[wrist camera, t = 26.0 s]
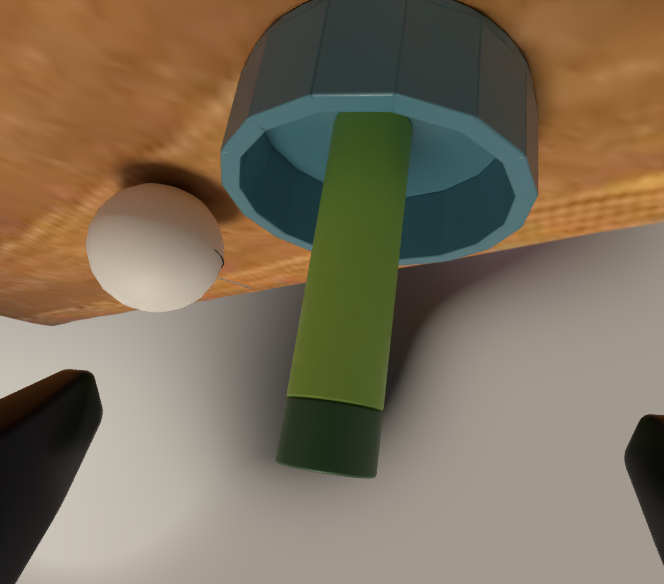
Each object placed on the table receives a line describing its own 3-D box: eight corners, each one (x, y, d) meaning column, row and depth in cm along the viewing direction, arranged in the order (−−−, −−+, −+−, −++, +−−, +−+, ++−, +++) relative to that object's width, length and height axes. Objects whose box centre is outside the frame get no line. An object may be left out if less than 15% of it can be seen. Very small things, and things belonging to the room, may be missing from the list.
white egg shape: (84, 174, 26) (40, 291, 23) (158, 140, 21) (113, 280, 19) (214, 245, 33) (190, 338, 31) (288, 230, 29) (267, 338, 27)
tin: (615, 54, 14) (623, 161, 12) (445, 215, 24) (440, 281, 23) (248, -71, 12) (215, 41, 10) (239, 164, 22) (222, 232, 21)
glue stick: (402, 93, 16) (356, 480, 12) (419, 149, 19) (387, 477, 14) (321, 107, 17) (255, 461, 13) (349, 157, 20) (301, 461, 16)
